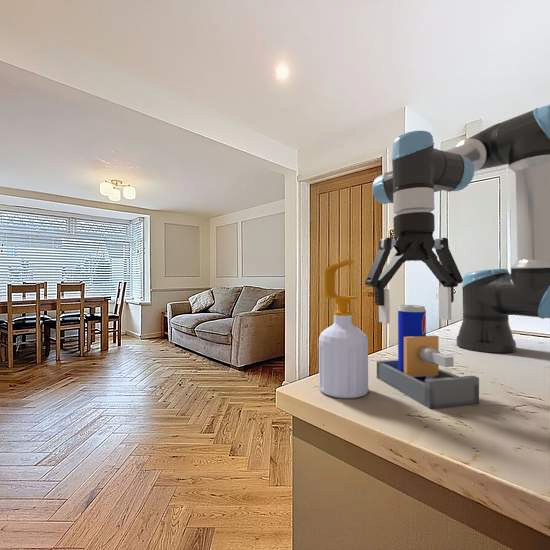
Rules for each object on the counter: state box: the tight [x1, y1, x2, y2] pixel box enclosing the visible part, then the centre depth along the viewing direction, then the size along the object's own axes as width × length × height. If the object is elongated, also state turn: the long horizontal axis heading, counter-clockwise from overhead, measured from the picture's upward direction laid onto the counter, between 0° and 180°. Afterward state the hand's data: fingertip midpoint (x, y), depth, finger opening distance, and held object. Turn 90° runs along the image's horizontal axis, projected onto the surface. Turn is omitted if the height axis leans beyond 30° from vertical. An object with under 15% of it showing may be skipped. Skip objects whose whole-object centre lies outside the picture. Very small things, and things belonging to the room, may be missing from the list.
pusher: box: [404, 335, 454, 377], centre depth 60 cm, size 7×8×8 cm
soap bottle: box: [318, 259, 369, 399], centre depth 63 cm, size 9×9×25 cm
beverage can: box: [397, 304, 427, 382], centre depth 67 cm, size 5×5×15 cm
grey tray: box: [376, 358, 480, 409], centre depth 64 cm, size 10×17×4 cm, turn 12°
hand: (415, 321), depth 66 cm, fingers open, 13 cm apart
